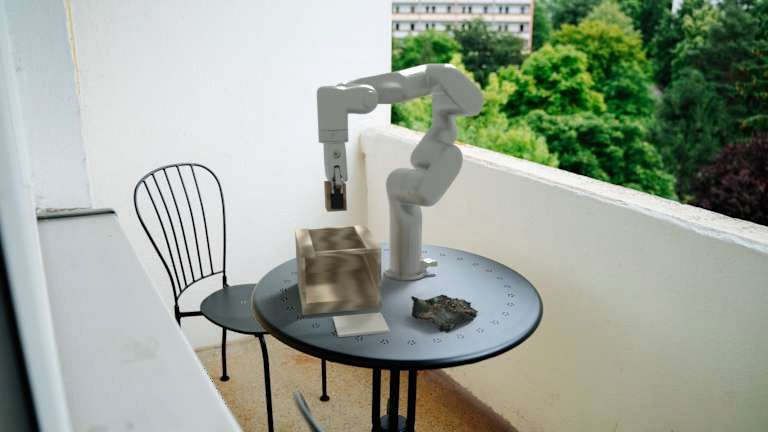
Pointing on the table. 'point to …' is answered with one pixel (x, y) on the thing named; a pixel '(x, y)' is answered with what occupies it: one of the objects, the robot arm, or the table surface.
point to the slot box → (338, 269)
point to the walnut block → (328, 197)
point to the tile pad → (360, 324)
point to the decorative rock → (442, 311)
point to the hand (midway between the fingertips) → (335, 205)
